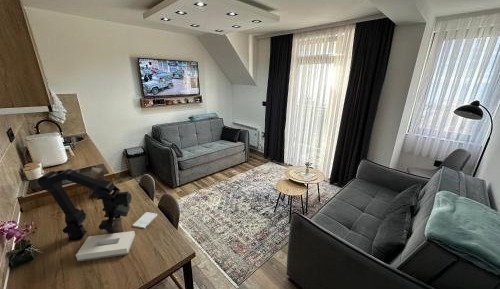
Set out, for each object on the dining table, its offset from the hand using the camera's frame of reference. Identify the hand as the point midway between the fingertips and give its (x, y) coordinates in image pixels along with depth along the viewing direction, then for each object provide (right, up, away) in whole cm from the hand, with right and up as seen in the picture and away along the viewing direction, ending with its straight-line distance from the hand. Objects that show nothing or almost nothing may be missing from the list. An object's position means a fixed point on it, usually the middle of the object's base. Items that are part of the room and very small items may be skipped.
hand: (115, 227), depth 116 cm
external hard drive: (+11, -1, +12) cm, 16 cm away
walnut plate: (0, -3, +1) cm, 4 cm away
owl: (-37, +10, +36) cm, 52 cm away
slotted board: (+2, -7, -9) cm, 12 cm away
